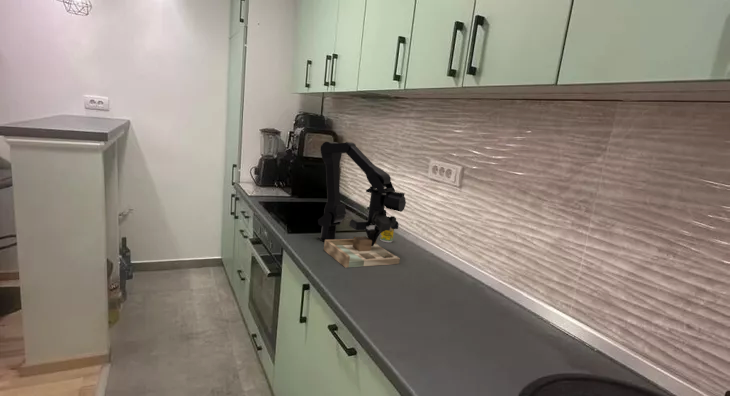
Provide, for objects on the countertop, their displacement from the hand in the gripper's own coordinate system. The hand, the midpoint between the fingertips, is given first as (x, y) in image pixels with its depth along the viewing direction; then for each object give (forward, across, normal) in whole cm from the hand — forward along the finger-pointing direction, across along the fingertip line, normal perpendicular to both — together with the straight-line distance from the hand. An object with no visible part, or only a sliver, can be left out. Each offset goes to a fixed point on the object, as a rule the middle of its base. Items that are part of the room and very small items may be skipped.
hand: (371, 245), depth 153 cm
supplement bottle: (+3, +16, +14) cm, 22 cm away
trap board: (+3, -6, -3) cm, 7 cm away
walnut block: (+1, -4, 0) cm, 4 cm away
